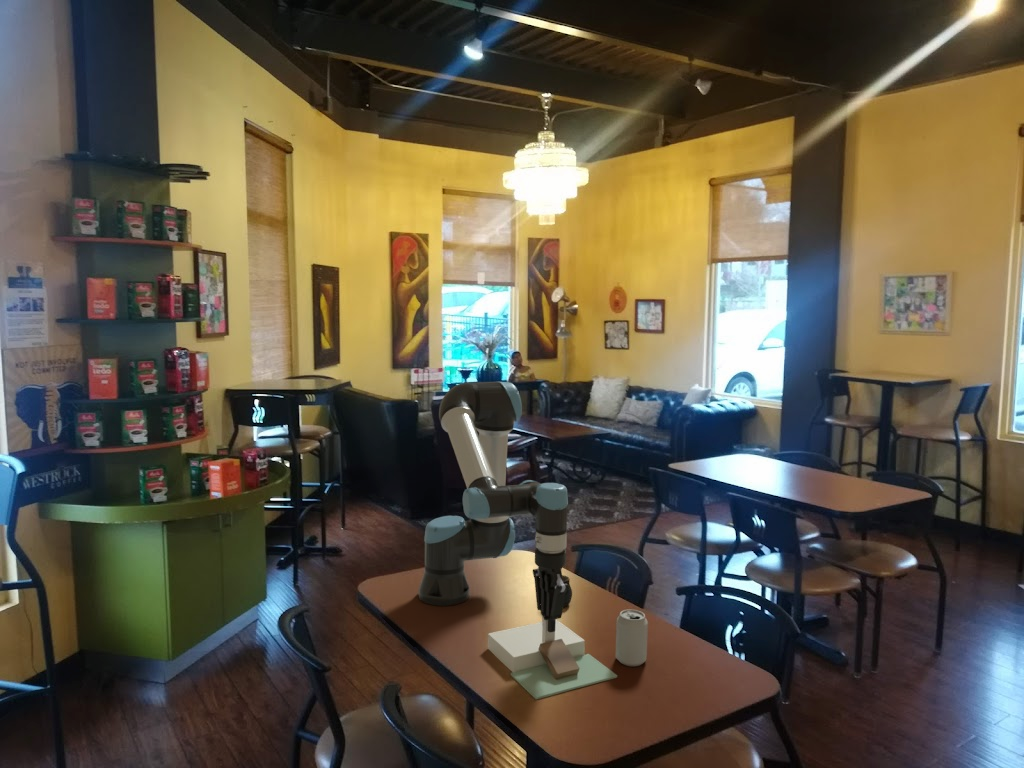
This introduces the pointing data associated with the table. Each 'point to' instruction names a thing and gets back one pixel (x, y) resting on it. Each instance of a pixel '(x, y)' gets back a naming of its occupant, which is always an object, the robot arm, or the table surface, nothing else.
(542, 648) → the brown wooden slab
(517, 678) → the mat
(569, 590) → the mate gourd
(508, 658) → the white flat block
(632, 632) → the can
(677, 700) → the table surface
